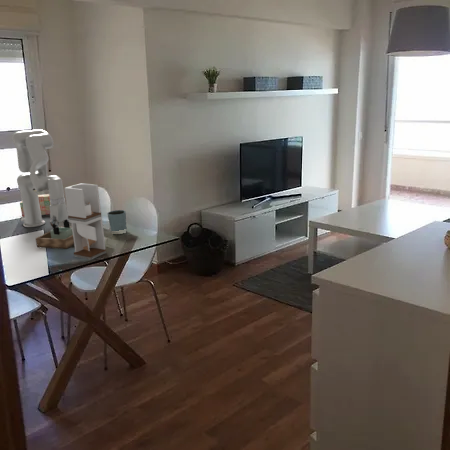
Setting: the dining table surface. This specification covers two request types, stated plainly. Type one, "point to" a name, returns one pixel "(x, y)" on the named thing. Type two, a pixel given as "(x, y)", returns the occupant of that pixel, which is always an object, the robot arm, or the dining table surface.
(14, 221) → the dining table surface
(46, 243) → the oak crate
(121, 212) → the blue grey cup
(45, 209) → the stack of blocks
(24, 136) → the robot arm
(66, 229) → the sage crate
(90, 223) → the white tiered tower
